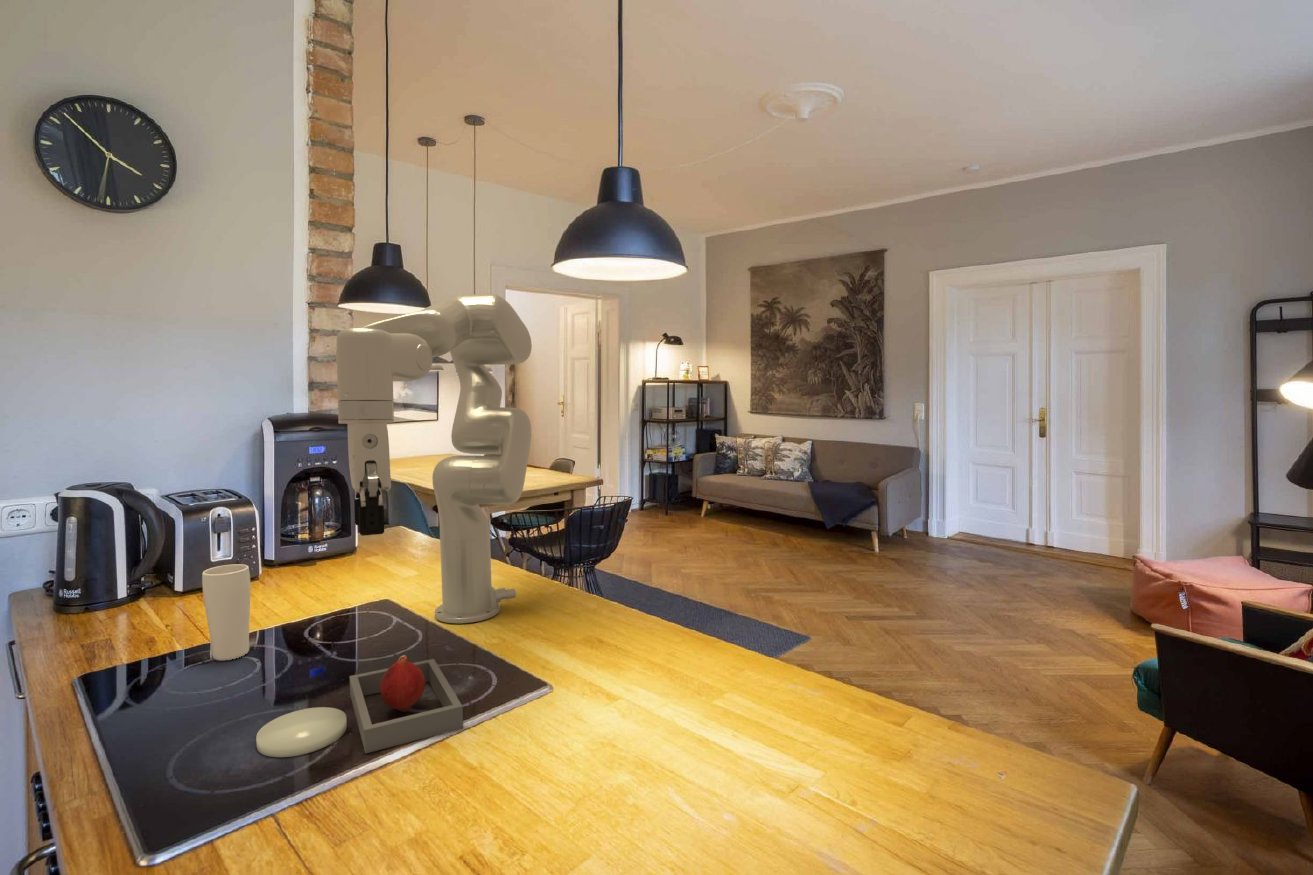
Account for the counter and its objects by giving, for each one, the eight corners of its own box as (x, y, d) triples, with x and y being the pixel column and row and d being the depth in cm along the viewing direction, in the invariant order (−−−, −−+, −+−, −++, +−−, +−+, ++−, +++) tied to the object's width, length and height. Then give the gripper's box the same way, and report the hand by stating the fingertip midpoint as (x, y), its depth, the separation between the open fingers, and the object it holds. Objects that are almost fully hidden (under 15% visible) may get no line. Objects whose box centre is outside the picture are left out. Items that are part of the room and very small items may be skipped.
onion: (383, 725, 90) (381, 667, 89) (379, 707, 95) (377, 652, 94) (428, 715, 92) (426, 658, 92) (422, 698, 97) (420, 644, 97)
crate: (434, 677, 104) (433, 658, 104) (463, 727, 89) (462, 706, 88) (350, 695, 98) (349, 676, 98) (365, 753, 83) (364, 730, 83)
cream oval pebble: (343, 708, 94) (342, 700, 94) (350, 742, 85) (350, 733, 85) (257, 728, 89) (256, 719, 89) (255, 766, 80) (255, 756, 80)
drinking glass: (231, 665, 110) (226, 575, 109) (197, 662, 111) (191, 573, 110) (263, 649, 116) (258, 564, 115) (230, 646, 118) (225, 563, 117)
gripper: (401, 413, 92) (403, 536, 93) (387, 413, 108) (389, 519, 108) (341, 413, 89) (344, 541, 90) (335, 413, 104) (338, 522, 105)
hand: (369, 529), depth 99 cm, fingers open, 9 cm apart
